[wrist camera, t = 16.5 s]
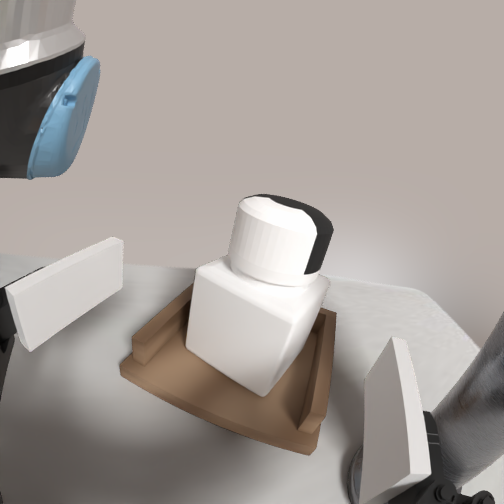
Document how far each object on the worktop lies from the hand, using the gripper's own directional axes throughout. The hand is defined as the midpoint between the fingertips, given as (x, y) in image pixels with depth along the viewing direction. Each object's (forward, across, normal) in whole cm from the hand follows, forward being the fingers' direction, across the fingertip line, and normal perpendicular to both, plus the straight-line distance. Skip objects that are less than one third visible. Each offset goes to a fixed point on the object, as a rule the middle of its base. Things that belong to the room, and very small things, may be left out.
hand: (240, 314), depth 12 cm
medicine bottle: (+7, 0, -8) cm, 11 cm away
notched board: (+7, 0, -9) cm, 12 cm away
